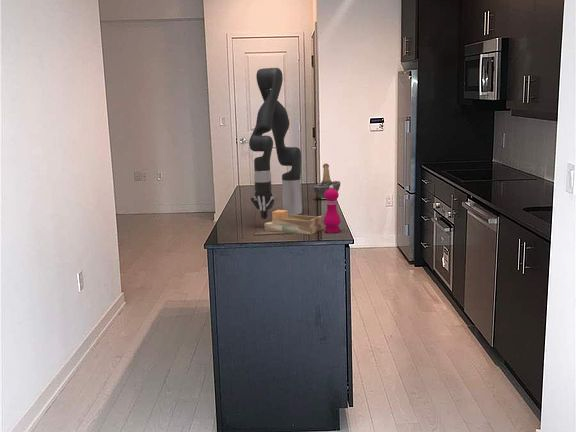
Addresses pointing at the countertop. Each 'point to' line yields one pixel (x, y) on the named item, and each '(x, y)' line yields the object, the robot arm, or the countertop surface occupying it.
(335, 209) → the pepper mill
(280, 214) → the block
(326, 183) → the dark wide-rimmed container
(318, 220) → the cream tray
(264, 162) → the robot arm
